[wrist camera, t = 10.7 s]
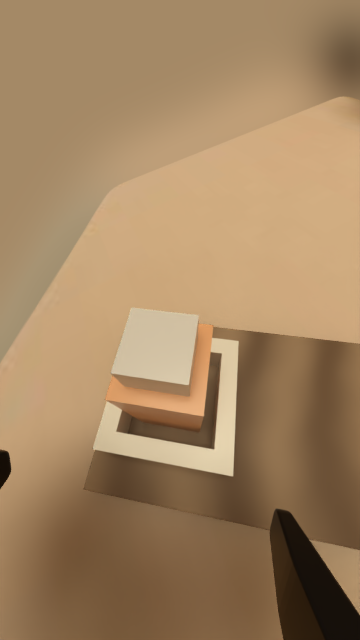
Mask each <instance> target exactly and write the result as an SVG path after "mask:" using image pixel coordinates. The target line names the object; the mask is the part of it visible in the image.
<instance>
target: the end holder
mask: <svg viewBox="0 0 360 640" xmlns="http://www.w3.org/2000/svg"><path fill="white" fill-rule="evenodd" d="M238 344H239V341H234V340H226V339H218V338H212V343H211V353H210V362H209V365H212V366H218V375H217V387H216V399H215V411H214V423H213V435H212V447H211V449H208V448H203V447H197V446H192V445H186V444H181V443H175V442H170V441H164V440H159V439H153V438H148V437H142V436H137V435H131V434H128V431H129V427H130V423H131V419H132V415H130V414H128V413H126V412H125V411H123V410H121V409H120V408H118V407H116V406H115V405H113V404H111V403H110V402H108V401H107V403H106V406H105V410H104V413H103V416H102V420H101V423H100V426H99V429H98V433H97V436H96V439H95V443H94V446H93V449H94V450H99V451H105V452H110V453H115V454H120V455H125V456H130V457H135V458H140V459H146V460H151V461H156V462H161V463H166V464H171V465H176V466H182V467H187V468H192V469H197V470H202V471H207V472H212V473H218V474H223V475H228V476H233V468H234V443H235V418H236V393H237V369H238Z"/></svg>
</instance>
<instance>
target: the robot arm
mask: <svg viewBox="0 0 360 640" xmlns="http://www.w3.org/2000/svg"><path fill="white" fill-rule="evenodd" d="M10 473H11V463H10V456H9V453H8V452H7V451H4V450H0V489H1V487H2V486H3V484H4V483H5V482H6V480H7V479H8V477H9V475H10ZM270 542H271V551H272V560H273V569H274V578H275V587H276V596H277V604H278V612H279V618H280V623H281V629H282V634H283V639H284V640H360V615H359V613H358V612H357V610H356V609H355V607H354V606H353V604H352V603H351V601H350V600H349V598H348V597H347V595H346V594H345V592H344V591H343V589H342V588H341V586H340V585H339V583H338V582H337V580H336V579H335V577H334V576H333V574H332V573H331V572H330V570H329V569H328V567H327V566H326V564H325V563H324V561H323V560H322V558H321V557H320V555H319V554H318V552H317V551H316V549H315V548H314V546H313V545H312V543H311V542H310V540H309V539H308V537H307V536H306V534H305V533H304V531H303V530H302V528H301V527H300V525H299V524H298V522H297V521H296V519H295V518H294V516H293V515H292V514H291V513H290V512H289V511H287V510H283V509H278V508H276V509H275V511H274V514H273V518H272V522H271V526H270Z"/></svg>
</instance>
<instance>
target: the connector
mask: <svg viewBox="0 0 360 640" xmlns="http://www.w3.org/2000/svg"><path fill="white" fill-rule="evenodd" d="M212 334H213V325H207V324H199V315H193V314H184V313H175V312H166V311H158V310H149V309H140V308H131V311H130V314H129V317H128V320H127V323H126V326H125V329H124V333H123V336H122V339H121V342H120V345H119V348H118V351H117V355H116V358H115V361H114V364H113V367H112V370H111V374H112V378H111V382H110V385H109V388H108V391H107V394H106V398H105V400H106V401H108V402H110V403H111V404H113V405H115V406H116V407H118V408H120V409H121V410H123V411H125V412H126V413H128V414H130V415H132V416H133V417H135V418H137V419H138V420H140V421H142V422H143V423H149V424H154V425H160V426H166V427H171V428H177V429H182V430H188V431H194V432H200V428H201V425H202V421H203V417H204V409H205V399H206V390H207V381H208V371H209V362H210V353H211V343H212Z"/></svg>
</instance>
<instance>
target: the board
mask: <svg viewBox="0 0 360 640" xmlns="http://www.w3.org/2000/svg"><path fill="white" fill-rule="evenodd" d="M212 338H218V339H226V340H234V341H239V344H238V369H237V393H236V418H235V443H234V468H233V476H228V475H223V474H218V473H212V472H207V471H202V470H197V469H192V468H187V467H182V466H176V465H171V464H166V463H161V462H156V461H151V460H146V459H140V458H135V457H130V456H125V455H120V454H115V453H110V452H105V451H99V450H95V452H94V456H93V459H92V462H91V466H90V469H89V472H88V476H87V479H86V482H85V486H84V490H88V491H93V492H98V493H102V494H107V495H111V496H116V497H120V498H125V499H129V500H134V501H139V502H143V503H148V504H152V505H157V506H161V507H166V508H171V509H175V510H180V511H184V512H189V513H193V514H198V515H203V516H207V517H212V518H216V519H221V520H225V521H230V522H235V523H239V524H244V525H248V526H253V527H257V528H262V529H266V530H270V526H271V522H272V518H273V514H274V511H275V509H276V508H278V509H283V510H287V511H289V512H290V513H291V514H292V515H293V516H294V518H295V519H296V521H297V522H298V524H299V525H300V527H301V528H302V530H303V531H304V533H305V534H306V536H307V537H308V539H312V540H317V541H321V542H326V543H330V544H335V545H340V546H344V547H349V548H353V549H358V550H360V344H356V343H347V342H339V341H330V340H321V339H313V338H304V337H296V336H287V335H278V334H270V333H261V332H253V331H244V330H235V329H227V328H218V327H213V334H212ZM217 375H218V366H212V365H209V371H208V381H207V390H206V399H205V409H204V417H203V421H202V425H201V428H200V432H194V431H188V430H182V429H177V428H171V427H166V426H160V425H154V424H149V423H143V422H142V421H140V420H138V419H137V418H135V417H133V416H132V419H131V423H130V427H129V431H128V434H131V435H137V436H142V437H148V438H153V439H159V440H164V441H170V442H175V443H181V444H186V445H192V446H197V447H203V448H208V449H211V447H212V435H213V423H214V411H215V399H216V387H217Z"/></svg>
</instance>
